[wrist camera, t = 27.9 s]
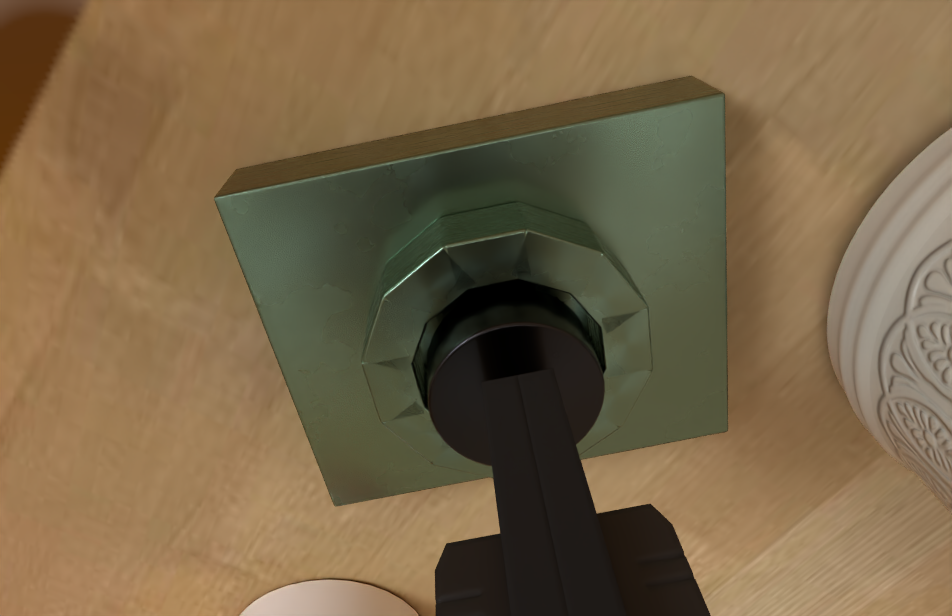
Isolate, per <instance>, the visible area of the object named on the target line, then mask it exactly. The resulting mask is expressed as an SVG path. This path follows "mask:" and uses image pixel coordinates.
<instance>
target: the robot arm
mask: <svg viewBox="0 0 952 616" xmlns="http://www.w3.org/2000/svg"><path fill="white" fill-rule="evenodd" d="M481 387H482V395H483V402H484V410H485V418H486V425H487V433H488V441H489V448H490V456H491V464H492V472H493V479H494V487H495V495H496V502H497V510H498V518H499V526H500V533H501V534H495V535H490V536H485V537H479V538H474V539H469V540H463V541H458V542H452V543H447V544H446V546H445V548H444V550H443V553H442V555H441V557H440V560H439V562H438V564H437V567H436V569H435V599H436V616H711V615H710V613H709V611H708V608H707V606H706V604H705V601H704V599H703V596H702V594H701V592H700V589H699V587H698V584H697V582H696V580H695V579H694V577H693V573H692V570H691V568H690V565H689V563H688V561H687V558H686V557H685V555H684V551H683V549H682V546H681V544H680V542H679V539H678V537H677V535H676V532H675V530H674V527H673V525H672V524H671V523H670V522H669V521H668V520H667V519H666V518H665V517H664V516H663V515H662V514H661V513H660V512H659V511H658V510H656V509H655V508H654V507H653V506H652V505H651V504H646V505H641V506H636V507H630V508H625V509H619V510H614V511H609V512H603V513H598V514H597V513H596V510H595V507H594V503H593V500H592V497H591V493H590V490H589V487H588V483H587V480H586V477H585V473H584V470H583V467H582V463H581V460H580V457H579V453H578V450H577V447H576V443H575V440H574V436H573V433H572V430H571V426H570V423H569V420H568V416H567V413H566V410H565V406H564V403H563V400H562V396H561V393H560V390H559V386H558V383H557V380H556V376H555V373H554V369H553V368H552V369H547V370H541V371H536V372H531V373H526V374H521V375H516V376H510V377H505V378H500V379H495V380H490V381H485V382H481Z"/></svg>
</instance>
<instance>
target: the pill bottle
mask: <svg viewBox="0 0 952 616" xmlns="http://www.w3.org/2000/svg"><path fill="white" fill-rule="evenodd" d="M240 616H419V615H418V614H417V612H416V611H415V610H414V609H413V608H412V607H410V606H409V605H408V604H407V603H406V602H405V601H403V600H402V599H400V598H398V597H396V596H395V595H393V594H391V593H389V592H387V591H385V590H382V589H379V588H377V587H374V586H371V585H368V584H363V583H358V582H353V581H345V580H329V579H328V580H315V581H306V582H301V583H296V584H292V585H287V586H285V587H282V588H279V589H277V590H274V591H271V592H269V593H267V594H266V595H264V596H262V597H260V598H259V599H257V600H255V601H254V602H253V603H252V604H250V605H249V606H248V607H247V608H246V609H245V610H244V611H243V612H242V613H241V614H240Z"/></svg>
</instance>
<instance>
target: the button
mask: <svg viewBox="0 0 952 616" xmlns="http://www.w3.org/2000/svg"><path fill="white" fill-rule="evenodd" d="M552 368H553V369H554V373H555V376H556V380H557V383H558V386H559V390H560V393H561V396H562V400H563V403H564V406H565V410H566V413H567V416H568V420H569V423H570V426H571V430H572V433H573V436H574V440H575V443H576V444H578V443H579V442H580V441H581V440H582V439H583V438H584V437H585V436H586V435H587V433H588V432H589V431H590V430H591V429H592V427H593V425H594V424H595V422H596V420H597V418H598V416H599V414H600V412H601V408H602V405H603V401H604V394H605V381H604V376H603V372H602V369H601V366H600V364H599V361H598V359H597V356H596V354H595V352H594V349H593V347H592V344H591V342H590V339H589V337H588V335H587V332H586V330H585V327H584V326H583V324H582V322H581V320H580V319H579V317H578V316H577V315H576V314H575V312H574V311H573V310H572V309H571V308H570V307H568V306H567V305H566V304H565V303H563V302H562V301H560V300H559V299H557V298H555V297H553V296H551V295H549V294H547V293H544V292H541V291H538V290H534V289H529V288H520V287H505V288H498V289H493V290H489V291H485V292H482V293H480V294H477V295H475V296H473V297H471V298H469V299H467V300H465V301H463V302H462V303H461V304H459V305H458V306H456V307H455V308H454V309H453V310H452V311H451V312H449V313H448V314H447V315H446V317H445V318H444V319H443V320H442V321H441V322H440V324H439V325H438V327H437V329H436V330H435V332H434V334H433V336H432V339H431V341H430V345H429V348H428V355H427V381H428V409H429V414H430V418H431V420H432V423H433V425H434V427H435V429H436V431H437V433H438V434H439V435H440V436H441V438H442V439H443V440H444V442H445V443H447V444H448V445H449V446H450V447H451V448H452V449H453V450H454V451H456V452H457V453H459V454H460V455H462V456H464V457H466V458H467V459H470V460H472V461H474V462H477V463H480V464H484V465H487V466H492V464H491V456H490V448H489V441H488V433H487V425H486V418H485V410H484V402H483V395H482V387H481V382H485V381H490V380H495V379H500V378H505V377H510V376H516V375H521V374H526V373H531V372H536V371H541V370H547V369H552Z"/></svg>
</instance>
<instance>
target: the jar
mask: <svg viewBox="0 0 952 616" xmlns="http://www.w3.org/2000/svg"><path fill="white" fill-rule="evenodd" d="M827 341H828V349H829V355H830V359H831V363H832V366H833V369H834V372H835V374H836V377H837V379H838V381H839V383H840V384H841V386H842V388H843V390H844V391H845V393H846V395H847V398H848V401H849V403H850V405H851V407H852V409H853V411H854V413H855V414H856V416H857V418H858V419H859V420H860V422H861V423H862V425H863V426H864V427H865V429H866V430H867V431H868V432H869V433H870V434H871V435H872V436H873V437H874V438H875V439H876V441H877V442H878V443H879V445H880V446H881V447H882V448H883V449H884V450H885V452H887V453H888V454H889V455H890V456H891V457H892V458H893V459H894V460H895V461H897V462H898V463H900V464H901V465H902V466H904V467H905V468H906V469H908V470H910V471H912V472H913V473H914V474H915V475H916V476H917V477H918V478H919V479H920V480H921V481H922V483H923V484H924V485H925V486H926V487H927V488H928V489H929V490H930V491H931V492H932V493H933V495H934V496H935V497H936V498H937V499H938V500H939V501H940V502H941V503H942V504H943V506H944V507H945V508H946V509H947V510H948V511H949V512H950V513H951V514H952V127H951V128H950V129H949V130H948V131H946V132H945V133H944V134H942V135H941V136H940V137H939V138H937V139H936V140H935V141H934V142H932V143H931V144H930V145H929V146H928V147H927V148H925V149H924V150H923V151H922V152H921V153H920V154H919V155H918V156H917V157H916V158H914V159H913V160H912V161H911V162H910V163H909V164H908V165H907V166H906V167H905V168H904V169H903V170H902V171H901V173H900V174H899V175H898V176H897V177H896V178H895V179H894V180H893V181H892V182H891V184H890V185H889V186H888V187H887V188H886V190H885V191H884V192H883V193H882V194H881V196H880V197H879V198H878V200H877V201H876V202H875V204H874V205H873V206H872V208H871V209H870V211H869V212H868V213H867V215H866V217H865V218H864V220H863V221H862V223H861V224H860V226H859V228H858V229H857V231H856V233H855V235H854V237H853V238H852V240H851V242H850V244H849V246H848V248H847V250H846V252H845V255H844V257H843V259H842V261H841V264H840V267H839V269H838V272H837V275H836V278H835V281H834V285H833V288H832V292H831V297H830V302H829V308H828V316H827Z"/></svg>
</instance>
